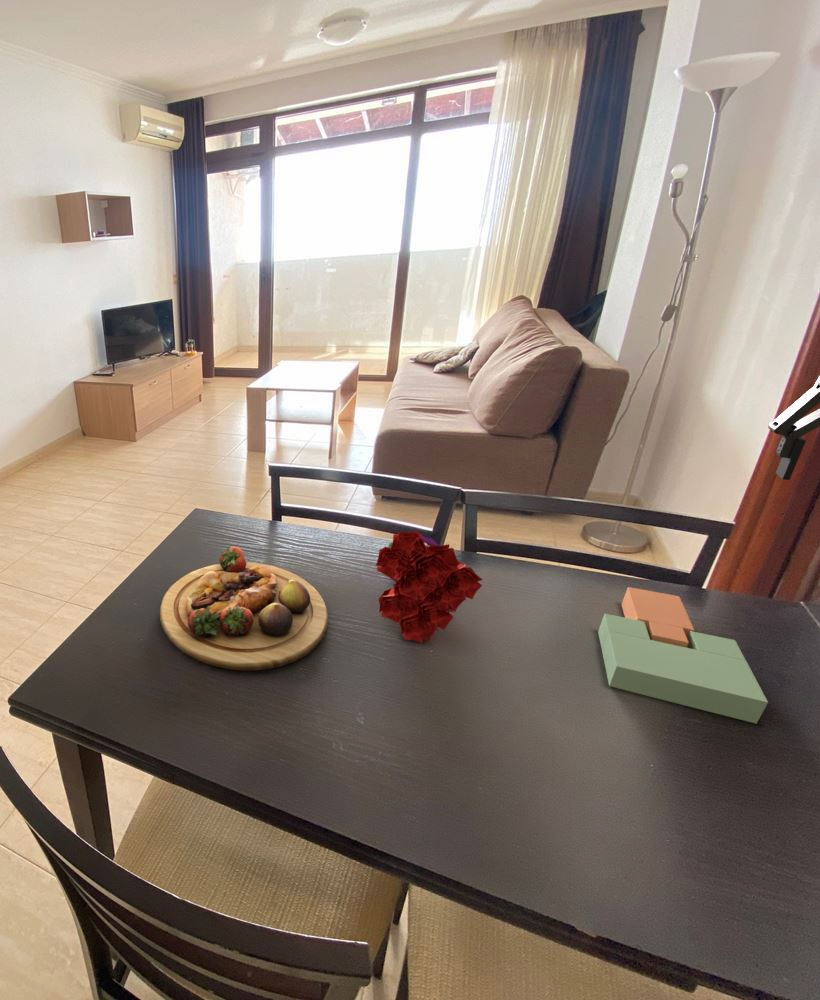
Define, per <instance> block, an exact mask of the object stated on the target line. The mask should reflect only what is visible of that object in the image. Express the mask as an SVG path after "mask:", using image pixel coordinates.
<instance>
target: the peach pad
mask: <svg viewBox="0 0 820 1000" xmlns="http://www.w3.org/2000/svg"><path fill="white" fill-rule="evenodd" d="M621 608H622V612H623V614H624V616H623V617H624V618H629V619H634V620H639V621H644V622H645V625H646V628H647V632H648V635H649V638H650V640H653V641H658V642H662V643H667V644H672V645H676V646H681V647H686V648H687V646H688V643H689V642H688V640H687V638H688V636H689V633H690V631H692V632H695V629H694V626H693V624H692V621H691V619H690V617H689V615H688V612H687V610H686V608H685V606H684V604H683V602H682V598H681V597H680V596H679V595H674V594H669V593H664V592H658V591H652V590H646V589H642V588H636V587H630V586H628V587H627V588H626V591H625V594H624V597H623V600H622V602H621Z"/></svg>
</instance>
